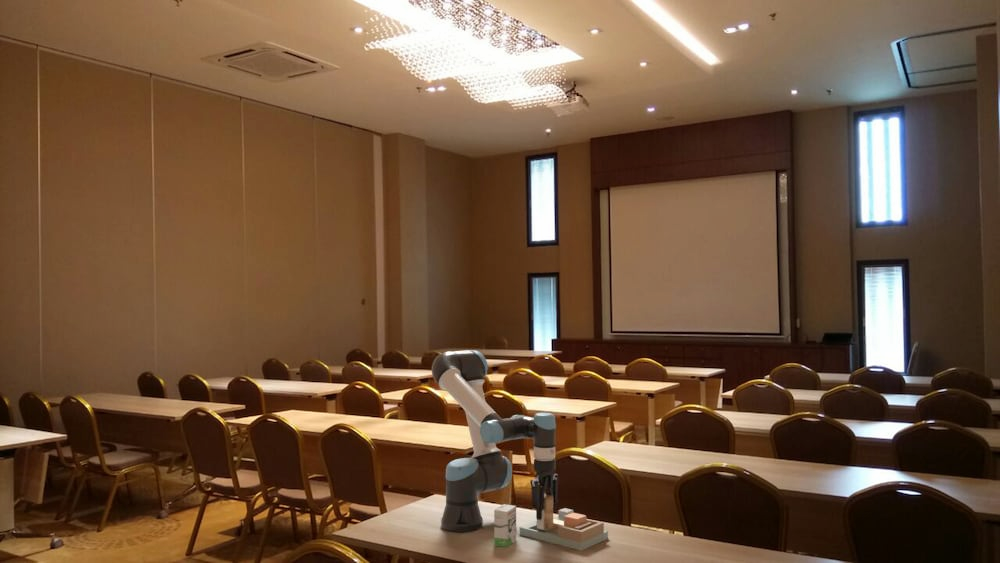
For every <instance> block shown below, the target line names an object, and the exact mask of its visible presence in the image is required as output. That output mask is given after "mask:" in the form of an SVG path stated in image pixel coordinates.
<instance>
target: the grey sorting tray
mask: <svg viewBox="0 0 1000 563" xmlns="http://www.w3.org/2000/svg"><path fill="white" fill-rule="evenodd" d="M536 521H537V520H535V521H533V522H530V523H526V524H525V525H524V524H523V525H522V526H519V535H521V536H525V537H528V538H532V539H535V540H538V541H543V542H546V543H547V542H548V543H551V544H555V545H559V546H562V547H566V548H570V549H574V550H577V551H581V552H582V551H584V550H586V549H589V548H591V547H593V546H594V545H597V544H599V543H602V542H603V541H606V540H608V539H609V531H607V530H605V527H604V526H605V525H604V524H605V522H603V521H597V520H593V519H589V518H586V523H587V522H592V526H589V527H587V528H584V529H582V530H576V529H572V528H568V527H564V521H562V520H558V518H554V517H553V523H555V524H559V525H563V526H558V532H555V531H551V530H542V529H538V528H537V527H536Z"/></svg>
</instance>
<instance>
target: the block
mask: <svg viewBox="0 0 1000 563" xmlns="http://www.w3.org/2000/svg"><path fill="white" fill-rule="evenodd" d="M586 519H587V515H585V514H581V513H578V512H573V513H571V514H568V515H566V516H564V526H567V527H572V528H575V527H577V526H579V525H582V524H584V523H586Z"/></svg>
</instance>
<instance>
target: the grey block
mask: <svg viewBox="0 0 1000 563" xmlns="http://www.w3.org/2000/svg"><path fill="white" fill-rule="evenodd" d="M557 511H558V512H557V515H558V516H557V517H558V518H557V519H558V520H562V521H564V516H566V515H568V514H571V513H574V509H570V508H566V507H564V508H560V509H559V510H557Z"/></svg>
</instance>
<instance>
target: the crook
mask: <svg viewBox="0 0 1000 563" xmlns="http://www.w3.org/2000/svg"><path fill="white" fill-rule="evenodd" d="M543 510H544V527H545V529H544V530H551V531H555V532H558V526H563V525H559V524H555V523H553V518H554V506H553V495H548V494H545V495H544V503H543ZM535 521H536V527H537V520H535ZM589 526H592V522H587V523H584V524H582V525H579V526H577V527H575V528H572V527H568V528H572V529H576V530H582V529H584V528H587V527H589ZM564 527H567V526H564ZM538 529H539V528H538ZM542 530H543V529H542Z"/></svg>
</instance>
